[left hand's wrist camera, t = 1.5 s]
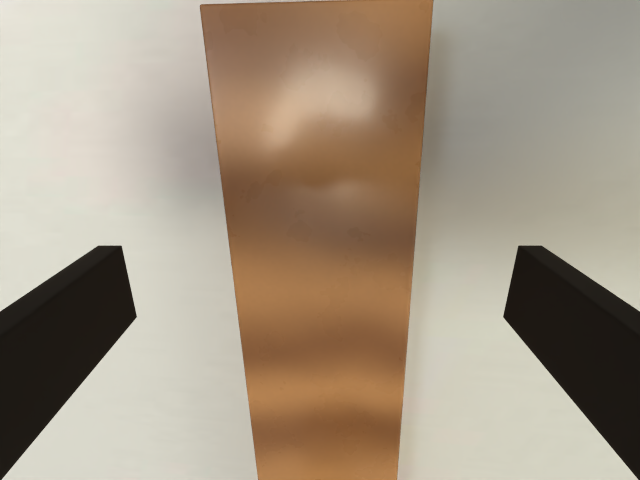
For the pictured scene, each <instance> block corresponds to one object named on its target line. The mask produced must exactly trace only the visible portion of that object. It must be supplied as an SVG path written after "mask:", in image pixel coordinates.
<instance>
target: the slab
mask: <svg viewBox="0 0 640 480" xmlns="http://www.w3.org/2000/svg"><path fill="white" fill-rule="evenodd" d="M432 11H433V0H337V1H302V2H267V3H233V4H202V5H200V12H201V20H202V28H203V36H204V44H205V52H206V61H207V69H208V77H209V85H210V93H211V101H212V109H213V117H214V125H215V133H216V142H217V150H218V158H219V166H220V174H221V182H222V190H223V198H224V206H225V214H226V223H227V231H228V239H229V247H230V255H231V263H232V271H233V279H234V287H235V295H236V304H237V312H238V320H239V328H240V336H241V344H242V352H243V360H244V368H245V376H246V385H247V393H248V401H249V409H250V417H251V425H252V433H253V441H254V449H255V457H256V466H257V474H258V480H397V471H398V458H399V445H400V431H401V418H402V405H403V392H404V379H405V366H406V353H407V339H408V326H409V313H410V300H411V287H412V274H413V261H414V248H415V234H416V221H417V208H418V195H419V182H420V169H421V156H422V142H423V129H424V116H425V103H426V90H427V77H428V64H429V50H430V37H431V24H432Z"/></svg>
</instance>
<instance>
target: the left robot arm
mask: <svg viewBox="0 0 640 480" xmlns="http://www.w3.org/2000/svg"><path fill="white" fill-rule="evenodd" d="M136 317H137V316H136V311H135V306H134V302H133V297H132V292H131V288H130V283H129V278H128V274H127V269H126V264H125V260H124V255H123V250H122V246H97V247H96V248H94V249H93V250H91V251H90V252H88V253H87V254H85V255H84V256H82V257H81V258H79V259H78V260H76V261H75V262H73V263H72V264H70V265H69V266H67V267H66V268H64V269H63V270H61V271H60V272H59V273H57V274H56V275H54V276H53V277H51V278H50V279H48V280H47V281H45V282H44V283H42V284H41V285H39V286H38V287H36V288H35V289H33V290H32V291H30V292H29V293H27V294H26V295H24V296H23V297H21V298H20V299H18V300H17V301H15V302H14V303H12V304H11V305H9V306H8V307H6V308H5V309H3V310H2V311H0V480H2V478H3V477H4V476H5V475H6V474H7V472H8V471H9V470H10V469H11V467H12V466H13V465H14V464H15V463H16V461H17V460H18V459H19V458H20V457H21V455H22V454H23V453H24V452H25V451H26V449H27V448H28V447H29V446H30V445H31V443H32V442H33V441H34V440H35V439H36V437H37V436H38V435H39V434H40V433H41V431H42V430H43V429H44V428H45V427H46V425H47V424H48V423H49V422H50V421H51V419H52V418H53V417H54V416H55V415H56V413H57V412H58V411H59V410H60V409H61V407H62V406H63V405H64V404H65V403H66V401H67V400H68V399H69V398H70V397H71V395H72V394H73V393H74V392H75V391H76V389H77V388H78V387H79V386H80V385H81V383H82V382H83V381H84V380H85V379H86V377H87V376H88V375H89V374H90V373H91V371H92V370H93V369H94V368H95V367H96V365H97V364H98V363H99V362H100V361H101V359H102V358H103V357H104V356H105V355H106V353H107V352H108V351H109V350H110V349H111V347H112V346H113V345H114V344H115V343H116V341H117V340H118V339H119V338H120V337H121V335H122V334H123V333H124V332H125V331H126V329H127V328H128V327H129V326H130V324H131V323H132V322H133V321H134V320H135V318H136ZM503 317H504V318H505V320H506V321H507V322H508V323H509V325H510V326H511V327H512V328H513V329H514V331H515V332H516V333H517V334H518V335H519V337H520V338H521V339H522V340H523V341H524V343H525V344H526V345H527V346H528V347H529V349H530V350H531V351H532V352H533V353H534V355H535V356H536V357H537V358H538V359H539V361H540V362H541V363H542V364H543V365H544V367H545V368H546V369H547V370H548V371H549V373H550V374H551V375H552V376H553V377H554V379H555V380H556V381H557V382H558V383H559V385H560V386H561V387H562V388H563V389H564V391H565V392H566V393H567V394H568V395H569V397H570V398H571V399H572V400H573V401H574V403H575V404H576V405H577V406H578V407H579V409H580V410H581V411H582V412H583V413H584V415H585V416H586V417H587V418H588V419H589V421H590V422H591V423H592V424H593V425H594V427H595V428H596V429H597V430H598V431H599V433H600V434H601V435H602V436H603V437H604V439H605V440H606V441H607V442H608V443H609V445H610V446H611V447H612V448H613V449H614V451H615V452H616V453H617V454H618V455H619V457H620V458H621V459H622V460H623V461H624V463H625V464H626V465H627V466H628V467H629V469H630V470H631V471H632V472H633V474H634V475H635V476H636V477H637V478H638V480H640V311H638V310H637V309H635V308H634V307H632V306H631V305H629V304H628V303H626V302H625V301H623V300H622V299H620V298H619V297H617V296H616V295H614V294H613V293H611V292H610V291H608V290H607V289H605V288H604V287H602V286H601V285H599V284H598V283H596V282H595V281H593V280H592V279H590V278H589V277H587V276H586V275H584V274H583V273H581V272H580V271H579V270H577V269H576V268H574V267H573V266H571V265H570V264H568V263H567V262H565V261H564V260H562V259H561V258H559V257H558V256H556V255H555V254H553V253H552V252H550V251H549V250H547V249H546V248H544V247H543V246H518V250H517V255H516V260H515V264H514V269H513V274H512V278H511V283H510V288H509V292H508V297H507V302H506V306H505V311H504V316H503Z"/></svg>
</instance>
